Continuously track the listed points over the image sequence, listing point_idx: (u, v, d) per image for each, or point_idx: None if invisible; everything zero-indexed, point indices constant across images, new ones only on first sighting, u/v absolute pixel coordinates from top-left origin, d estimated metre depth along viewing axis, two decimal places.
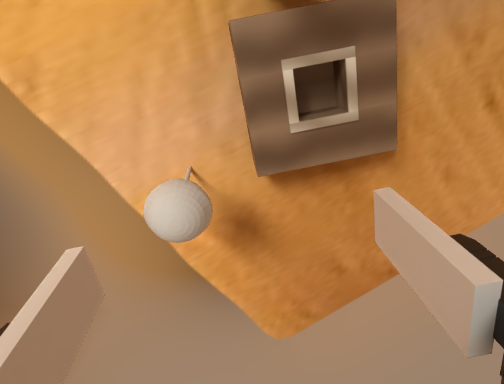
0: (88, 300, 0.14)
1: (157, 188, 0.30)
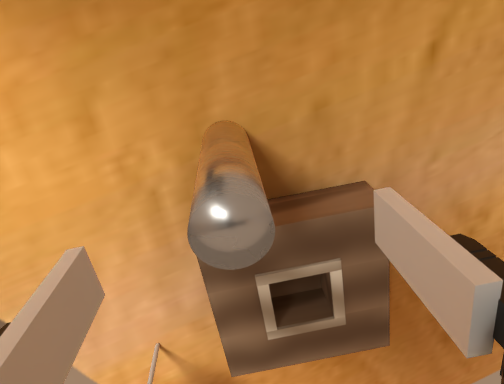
0: (88, 300, 0.14)
1: None
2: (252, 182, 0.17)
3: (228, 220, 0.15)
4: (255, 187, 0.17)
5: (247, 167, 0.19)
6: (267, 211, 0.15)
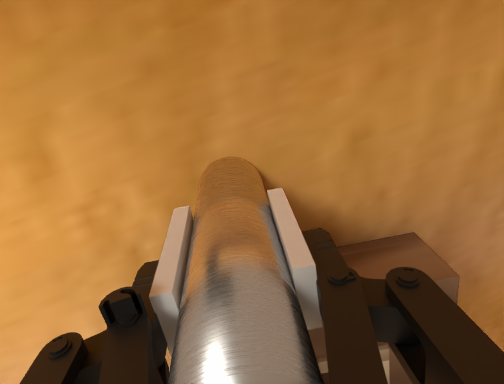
0: None
1: None
2: (284, 311, 0.09)
3: None
4: (291, 326, 0.09)
5: (271, 264, 0.11)
6: None
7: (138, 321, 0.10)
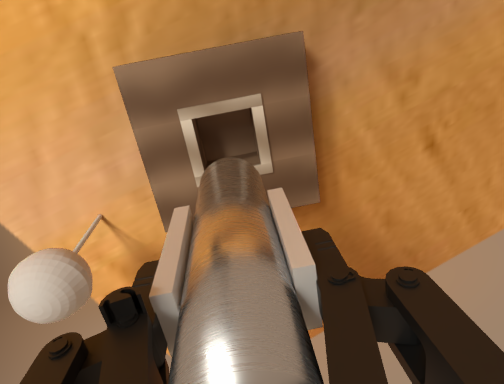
0: None
1: (20, 263, 0.26)
2: (284, 310, 0.09)
3: None
4: (291, 324, 0.09)
5: (270, 264, 0.11)
6: None
7: (138, 321, 0.10)
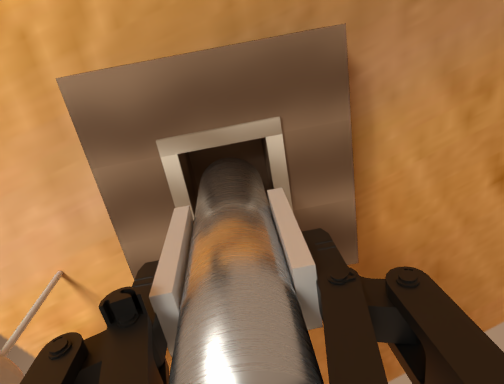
0: None
1: None
2: (284, 310, 0.09)
3: None
4: (291, 324, 0.09)
5: (270, 264, 0.11)
6: None
7: (138, 321, 0.10)
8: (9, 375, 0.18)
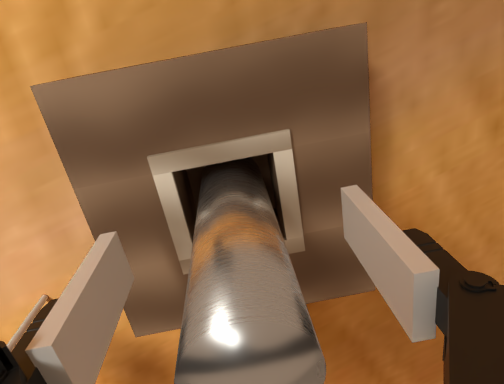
0: (121, 282, 0.15)
1: None
2: (282, 277, 0.10)
3: (246, 362, 0.09)
4: (288, 289, 0.10)
5: (270, 241, 0.12)
6: (314, 345, 0.09)
7: (7, 377, 0.09)
8: None
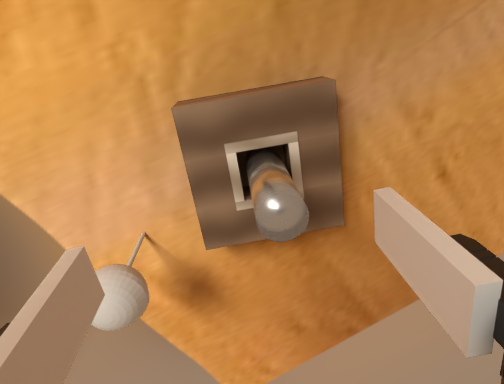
0: (88, 300, 0.14)
1: None
2: (293, 187, 0.27)
3: (281, 210, 0.25)
4: (296, 190, 0.26)
5: (288, 178, 0.29)
6: (305, 204, 0.25)
7: None
8: (141, 276, 0.32)
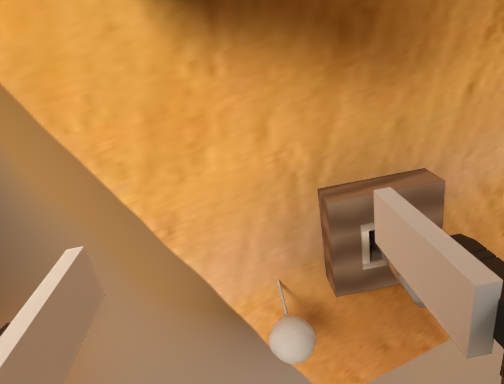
0: (88, 300, 0.14)
1: (281, 328, 0.43)
2: None
3: None
4: None
5: None
6: None
7: None
8: (309, 324, 0.45)
